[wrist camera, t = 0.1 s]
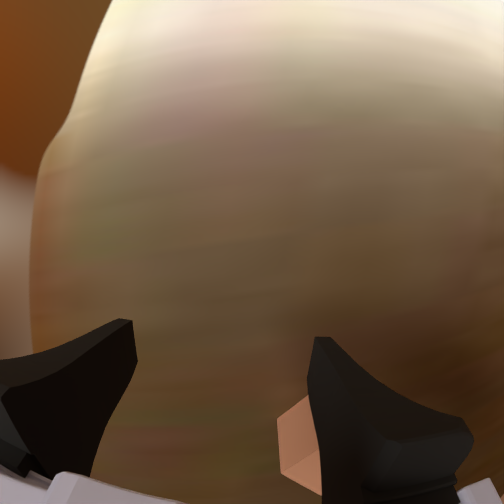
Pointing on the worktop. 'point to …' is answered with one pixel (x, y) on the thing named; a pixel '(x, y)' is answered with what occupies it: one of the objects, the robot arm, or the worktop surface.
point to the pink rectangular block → (300, 446)
